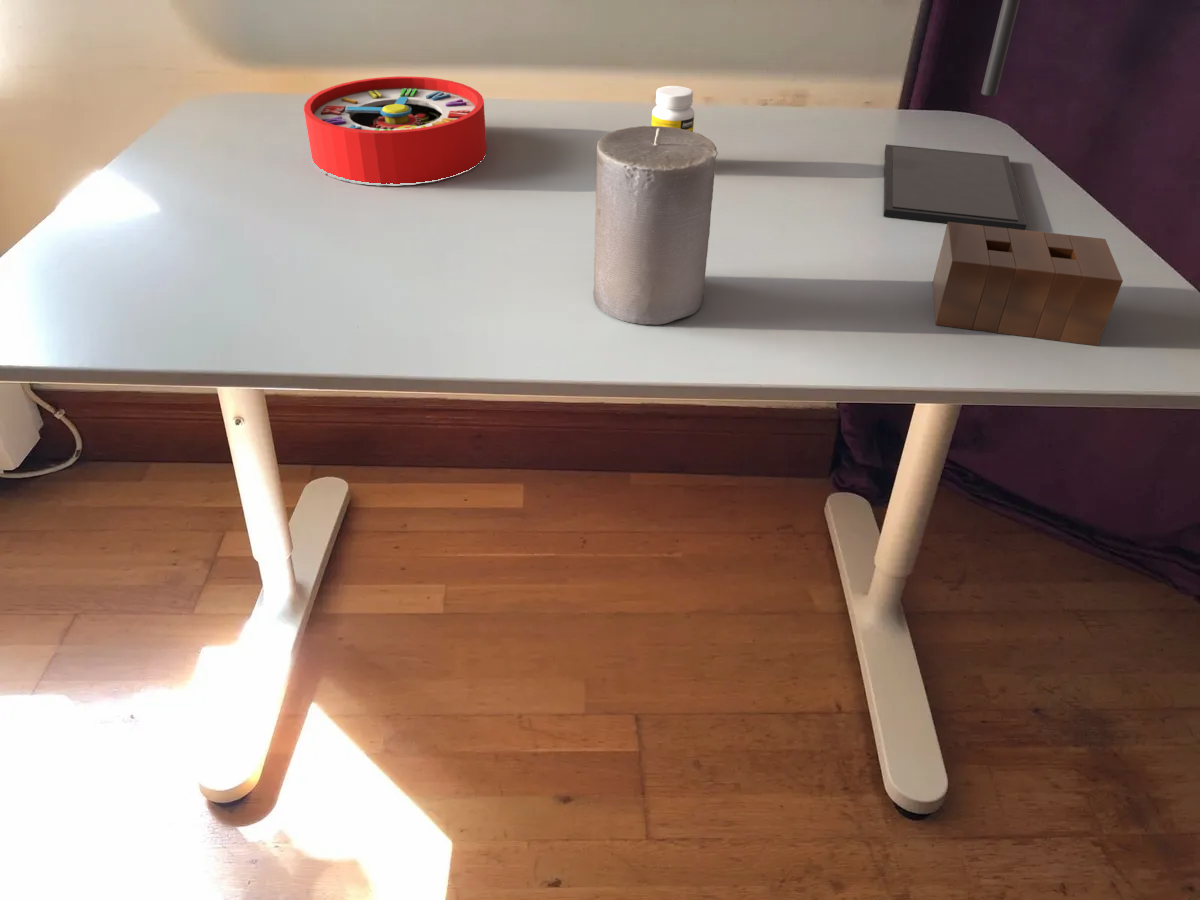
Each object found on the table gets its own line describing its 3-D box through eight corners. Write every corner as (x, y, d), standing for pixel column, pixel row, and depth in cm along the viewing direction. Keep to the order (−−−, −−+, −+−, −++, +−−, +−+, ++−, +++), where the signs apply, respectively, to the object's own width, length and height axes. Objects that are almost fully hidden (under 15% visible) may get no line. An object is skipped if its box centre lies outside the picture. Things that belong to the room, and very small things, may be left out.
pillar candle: (604, 269, 88) (607, 105, 79) (709, 279, 87) (724, 114, 78) (583, 320, 81) (584, 145, 72) (698, 332, 80) (713, 156, 70)
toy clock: (469, 135, 99) (279, 129, 100) (473, 189, 103) (290, 183, 104) (494, 78, 115) (330, 74, 116) (497, 127, 119) (338, 122, 119)
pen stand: (1082, 301, 85) (1105, 238, 81) (1097, 346, 79) (1123, 280, 75) (932, 282, 87) (947, 221, 84) (935, 325, 81) (952, 260, 78)
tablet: (1006, 162, 112) (1008, 155, 111) (1024, 232, 96) (1027, 223, 96) (884, 150, 114) (885, 143, 114) (883, 216, 99) (884, 208, 98)
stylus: (995, 92, 91) (1036, -72, 83) (996, 96, 90) (1038, -70, 82) (980, 91, 92) (1019, -73, 83) (981, 95, 91) (1020, -70, 82)
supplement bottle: (682, 176, 107) (687, 99, 102) (643, 169, 108) (646, 93, 103) (696, 162, 111) (701, 87, 105) (658, 155, 112) (661, 82, 107)
